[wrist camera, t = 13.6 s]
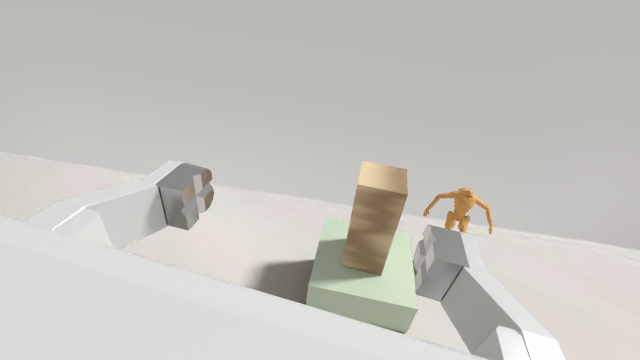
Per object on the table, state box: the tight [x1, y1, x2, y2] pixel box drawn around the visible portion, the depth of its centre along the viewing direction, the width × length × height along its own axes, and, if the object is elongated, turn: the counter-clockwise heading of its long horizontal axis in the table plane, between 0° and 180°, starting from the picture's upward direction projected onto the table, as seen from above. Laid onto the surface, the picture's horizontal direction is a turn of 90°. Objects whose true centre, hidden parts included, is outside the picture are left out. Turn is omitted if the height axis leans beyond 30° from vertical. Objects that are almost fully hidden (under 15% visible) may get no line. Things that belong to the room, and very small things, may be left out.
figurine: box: [423, 188, 493, 234], centre depth 37 cm, size 8×6×12 cm
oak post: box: [341, 161, 408, 276], centre depth 28 cm, size 4×4×10 cm
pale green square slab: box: [306, 216, 418, 333], centre depth 32 cm, size 10×10×4 cm
